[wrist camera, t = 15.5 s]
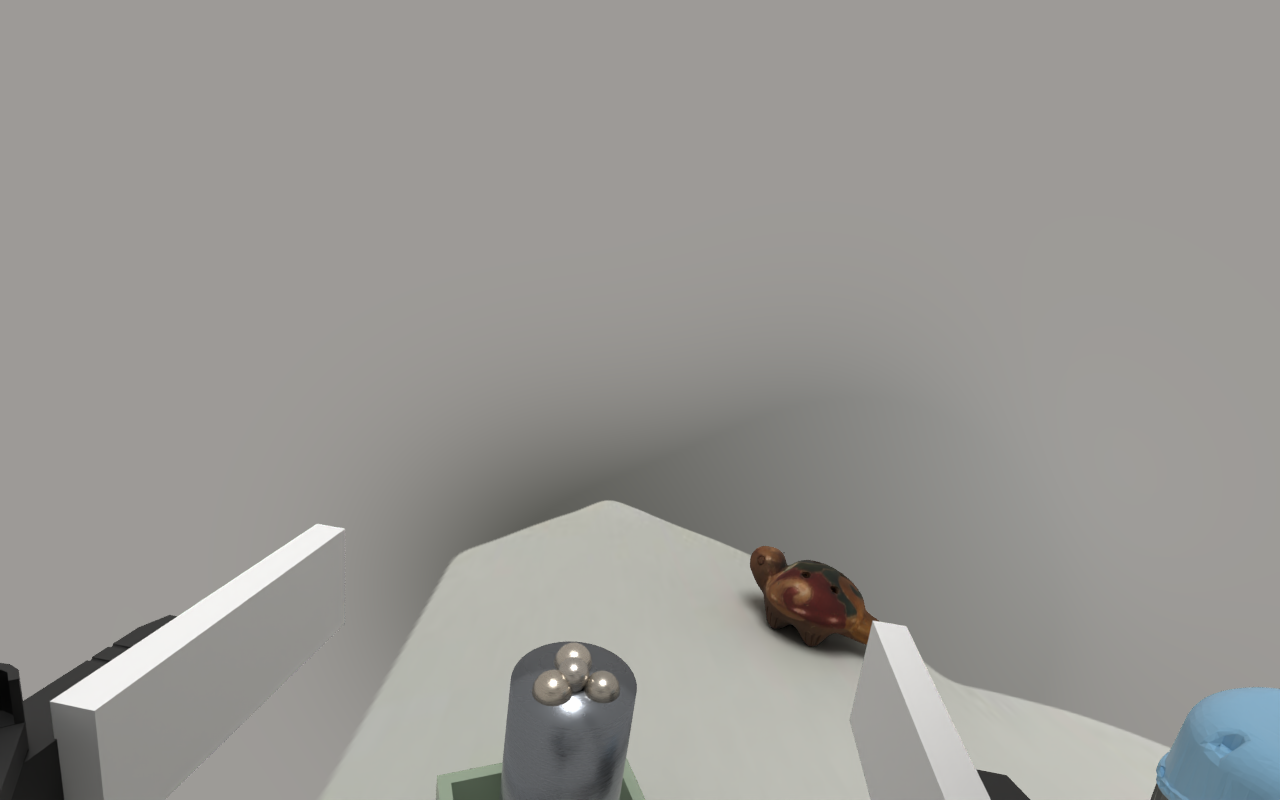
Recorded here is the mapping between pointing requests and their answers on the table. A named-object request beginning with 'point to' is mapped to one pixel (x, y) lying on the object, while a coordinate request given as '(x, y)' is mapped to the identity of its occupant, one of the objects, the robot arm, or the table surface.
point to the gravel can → (567, 724)
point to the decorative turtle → (810, 598)
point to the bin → (477, 790)
